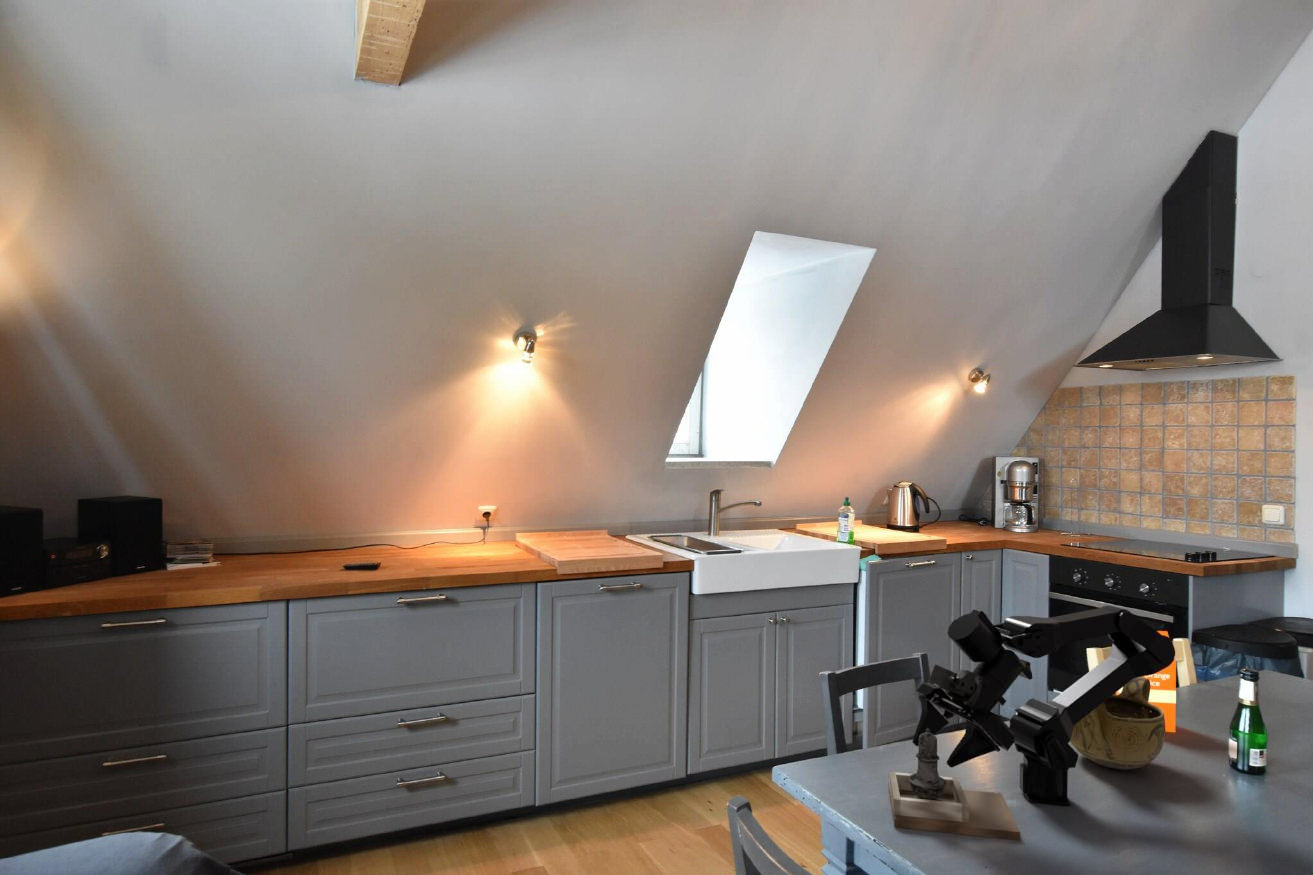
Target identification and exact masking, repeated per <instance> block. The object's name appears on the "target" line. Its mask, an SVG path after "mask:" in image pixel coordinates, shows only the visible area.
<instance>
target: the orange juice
mask: <svg viewBox="0 0 1313 875" xmlns="http://www.w3.org/2000/svg"><path fill="white" fill-rule="evenodd" d="M1157 631H1158V632H1159V633H1160V634H1161V635H1164V636H1167V637H1169V638H1170V636H1169V633H1168V631H1167V630H1166V631H1165V630H1164V631H1162V630H1157ZM1143 678H1147V679H1149V681H1150V684H1151V687H1150V695H1149V701H1148V703H1150V704H1153V705H1155V706H1157V707H1159V708H1160V709H1161V710H1163V712H1164V718H1165V729H1166V733H1167V732H1168V733H1176V713H1177V712H1176V708H1177V707H1176V706H1177V705H1176V704H1177V689H1176V688H1177V687H1176V686H1177V684H1176V682H1177V661H1176V658H1175V657H1174V661H1173V663H1172V664H1171V665H1170V666H1169V667H1167V668H1165V669H1163V670H1161V671H1160V672H1158V673H1156V674H1153V675H1148V676H1143ZM1122 689H1123V687H1122V688H1121V689H1120V690H1119V691H1117V692H1116V693H1115V695H1119V694H1120V693H1121V692H1122Z"/></svg>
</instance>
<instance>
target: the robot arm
mask: <svg viewBox="0 0 1313 875" xmlns="http://www.w3.org/2000/svg"><path fill="white" fill-rule="evenodd" d="M1158 631H1159V630H1156V629H1154V628H1153V627H1152V626H1149V625H1148V624H1147V623H1145V622H1144V621H1143V620H1140V619H1139V618H1138V617H1137V616H1136V615H1135V614H1134V613H1133V612H1131V611H1130V610H1128V609H1125V608H1122V607H1117V606H1114V605H1103V606H1101V607H1098V608H1095V609H1089V610H1088V609H1087V610H1082V611H1079V612H1073V613H1068V614H1062V615H1058V616H1051V617H1041V616H1032V615H1030V616H1029V615H1011V616H1009V617H1007V618H1005V619H1004V622H1000V623H996V624H993V623H992V622H991V620H990V619H989V617H988V615H987V614H986V613H985V612H984V611H983V610H980V609H978V608H973V610H972V611H971V612H970V613H966V614H963V615H961V616H960V617H957V618H956V619H954V620H953V621H952V622H951V623H950V625H949V626H948V630H947V635H948V637H949V638H950V640H952V642H953V643H954V644H955V645H956V646H957V647H958V649H960V650H961V652H962V653H963V654H964V655H965V656H966V657H967V658H968V659H969V660H970V661H971V662H973V663H978V664H977V665H976V666H975V668H974V669H973V671H970V670H967V669H960V670H959V671H958V672H957V673H956V672H954V671H952V670H951V669H948V668H945V667H943V666H941V665H939V664H936V663H935V664H934V666H933V669H932V671H931V672H930V676H929V677H928V682H922V683H921V684H920V686H919V687H918V688H917V690H916V691H915V692H916V694H917V695H918V700H919V702H920V704H921V705H920V707H921V714H920V717H919V721H918V724H917V726H916V730H915V733H914V736H913V739H912V744H913V745H914V746H916V747H919V736H920V735H921V734H922V733H925V732H927V731H926V730H927V728H929V730H930V731H929V732H930V733H931V734H933V735H935V734H936V733H938V732H939V731H941V730H942V729H943V728H944V727H945V726H947V725H948V724H949V723H950V721H948V720H949V719H951V718H953V717H958V718H960V719H961V720H963V721H965V732H964V735H963V736H962V738H961V739H960V740H959V742H958V744H957V745H956V746H955V748H954V749H953V750H952V752H951V753H950V755H949V757H948V759H947V761H946V765H947V766H949V768H955V767H956V766H959V765H962V764H964V763H967V762H968V761H970V760H973V759H975V758H978V757H980V756H984V755H986V754H990V753H993V752H998V753H999V752H1000V751H1001V749H1003V750H1005V751H1007V752H1008V751H1009V750H1010V749H1011V748H1012V746H1013V745H1014V746H1015V750H1016V752H1018V753H1020V754H1023V756H1022V758H1023V760H1022V761H1023V762H1021V763H1019V788H1020V790H1021V792H1022V794H1024V796H1025V798H1026V799H1027V801H1028V802H1031V803H1032V802H1033V803H1039V804H1040V803H1041V804H1053V805H1060V806H1071V805H1072V804H1071V803H1072V802H1071V800H1070V799H1069V797H1068V786H1069V785H1068V784H1069V783H1068V781H1069V780H1068V777H1069V770H1070V769H1073V768H1076V766H1077V763H1078V759H1079V754H1078V752H1076V750H1075V749H1074V747H1072V746H1071V745H1070V744H1069V743H1071V742H1070V740H1071V736H1072V732H1073V728H1074V726H1075V724H1077V723H1078V722H1079V721H1080V720H1082V719H1083V718H1084V717H1086V716H1087V715H1088V714H1089V713H1091V712H1092V711H1093V710H1094V709H1096V708H1097V707H1098V706H1099V705H1101V704H1102V703H1103V702H1105V701H1106V700H1107V699H1108V698H1110V697H1111V696H1112V695H1113V694H1115V695H1116V692H1117V691H1119V690H1120V689H1121V688H1122V687H1124V686H1125V685H1126V684H1127V683H1129V682H1130V681H1131V680H1133V679H1134V678H1138V677H1143V676H1148V675H1153V674H1156V673H1158V672H1160V671H1161V670H1163V669H1165V668H1167V667H1169V666H1170V665H1171V664H1172V663H1173V661H1174V658H1175V657H1176V648H1175V646H1174V642H1173V641H1172V639H1171V638H1170V636H1169V637H1167V636H1164V635H1161V634H1160V633H1159V632H1158ZM1101 636H1102V637H1103V636H1107V637H1108V639H1109V640H1111V641H1112V643H1111V644H1112V645H1111V649H1110V654H1109V656H1108V657H1106V658H1105V659H1103V661H1101V662H1100V663H1098V664H1097V665H1096V666H1095V667H1094V668H1092V669H1091V670H1090V671H1088V672H1087V673H1086V674H1084V675H1083V676H1082V677H1080V678H1079V679H1077V680H1076V681H1075V682H1073V684H1071V685H1070V686H1068V688H1066V689H1065V690H1063V691H1062V692H1061V693H1060V694H1059V695H1057V696H1056V697H1054V698H1053V699H1052V700H1050V701H1048V702H1045V701H1043V700H1040V699H1038V698H1036V697H1032V698H1030V699H1028V700H1027V701H1026V702H1025V703H1024V704H1023V705H1022V706H1021V707H1018V708H1015V709H1014V712H1016V713H1014V714H1013V715H1012V717H1010V719H1009V726H1008V724H1007V723H1006V722H1005V721H1004V720H1003V719H1002V718H1001V717H1000V716H999V715H998V714H996V713H994V712H992V710H993V709H994V708H995V706H996V705H997V704H999V705H1000V706H1004V705H1005V704H1006V702H1007V700H1006V699H1005V698H1004V697H1003V696H1004V695H1005V694H1006V692H1007V691H1008V690H1009V689H1010V687H1011V686H1012V685H1013V684H1014V683H1015V681H1016V680H1017V678H1018V677H1022V678H1025V679H1028V680H1029V681H1030V680H1032V679H1033V678H1034V677H1033V672H1032V668H1031V662H1030V661H1027V660H1024V659H1021V658H1020V657H1019V655H1017V654H1016V653H1015V652H1017V653H1020V654H1022V655H1025V656H1027V657H1030V658H1034V659H1040V658H1043V657H1045V656H1048V655H1051V654H1053V653H1054V652H1057V650H1058V649H1059V648H1060V647H1061V646H1062V645H1065V644H1067V643H1072V642H1078V641H1082V640H1087V639H1093V638H1097V637H1101ZM1004 646H1005V647H1006V648H1005V647H1004Z"/></svg>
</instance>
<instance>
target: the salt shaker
mask: <svg viewBox="0 0 1313 875" xmlns="http://www.w3.org/2000/svg"><path fill="white" fill-rule="evenodd" d="M926 731H927V732H925V733H922V734H921V735H920V736H919V746H918V752H917V753H916V755H915V757H916V758H917V770H916V773H911V774H912V775H910V776H909V778H908V780H909V781H910V785H911V788H912V790H913V792H914V793H915V794H916V795H915V796H912V797H911V798H914V799H924V800H934V801H942V800H941V799H939V797H940V796H941V795H942V794H943V792H944V790H945V786H946V785H947V782H946V780H944V779H943V778H941V777H942V776H941V777H939V771H938V770H939V769H938V761H939V760H940V756H939V755H938V738H937V736H936V735H935V734H934V735H933V734H931V733H930V732H929V731H930V730H929V728H927V730H926Z"/></svg>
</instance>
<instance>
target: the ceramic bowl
mask: <svg viewBox="0 0 1313 875" xmlns="http://www.w3.org/2000/svg"><path fill="white" fill-rule="evenodd" d="M1150 687H1151V684H1150V681H1149V679H1147V678H1143V677H1138V678H1134V679H1133V680H1131V681H1130V682H1129V683H1127V684H1126V685H1125V686H1124V687H1123V689H1122V692H1121V693H1120V694H1119V695H1116V693H1115V694H1113V695H1112V696H1111V697H1110V698H1108V699H1107V700H1106V701H1105V702H1103V703H1102V704H1101V705H1099V706H1098V707H1097V708H1096V709H1094V710H1093V711H1092V712H1091V713H1089V714H1088V715H1087V716H1086V717H1084V718H1083V719H1082V720H1080V721H1079V722H1078V723H1077V724H1075V726H1074V728H1073V732H1072V736H1071V740H1070V742H1069V743H1070V744H1071V745H1072V746H1073V748H1075V749H1076V751H1078V752H1079V754H1081V755H1082V756H1084V757H1086V758H1087V759H1089V760H1090V761H1092V762H1094V763H1096V764H1097V765H1100V766H1102V767H1106V768H1110V769H1113V770H1120V771H1123V770H1124V771H1127V770H1128V771H1129V770H1135V769H1139V768H1142V767H1145V766H1147V765H1149V764H1150V763H1151V762H1152V761H1154V760H1155V759H1156V758H1157V757H1158V756H1159V754H1160V752H1161V751H1162V749H1163V747H1164V743H1165V739H1166V733H1167V732H1166V729H1165V718H1164V712H1163V710H1161V709H1160V708H1159V707H1157V706H1155V705H1153V704H1150V703H1148V701H1149V695H1150Z"/></svg>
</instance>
